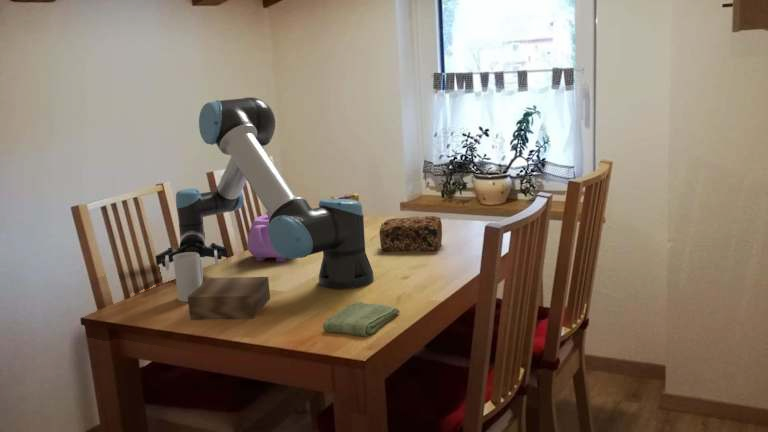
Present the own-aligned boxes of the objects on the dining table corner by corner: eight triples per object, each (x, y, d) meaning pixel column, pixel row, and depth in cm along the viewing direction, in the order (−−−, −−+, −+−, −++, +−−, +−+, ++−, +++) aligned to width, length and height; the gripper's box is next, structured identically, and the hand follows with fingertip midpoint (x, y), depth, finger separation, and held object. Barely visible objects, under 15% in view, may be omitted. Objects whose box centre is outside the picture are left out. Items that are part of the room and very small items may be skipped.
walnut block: (270, 298, 212) (268, 276, 210) (252, 319, 196) (250, 295, 195) (211, 299, 214) (209, 277, 213) (190, 320, 198) (187, 297, 197)
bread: (443, 243, 258) (442, 213, 256) (438, 252, 248) (436, 221, 246) (386, 244, 262) (384, 214, 260) (379, 252, 252) (377, 221, 250)
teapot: (294, 268, 239) (290, 219, 236) (235, 266, 246) (230, 218, 243) (320, 251, 257) (317, 205, 254) (264, 249, 264) (260, 205, 261)
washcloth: (402, 314, 194) (401, 302, 194) (369, 340, 179) (368, 326, 178) (354, 309, 200) (353, 297, 199) (318, 334, 185) (317, 320, 184)
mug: (193, 303, 212) (188, 259, 209) (172, 301, 214) (167, 258, 212) (215, 291, 221) (210, 249, 218) (195, 290, 223) (190, 248, 221)
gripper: (234, 252, 249) (238, 270, 229) (151, 262, 244) (147, 281, 224) (232, 229, 247) (235, 245, 227) (148, 238, 242) (144, 255, 222)
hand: (191, 262), depth 225 cm, fingers open, 13 cm apart
